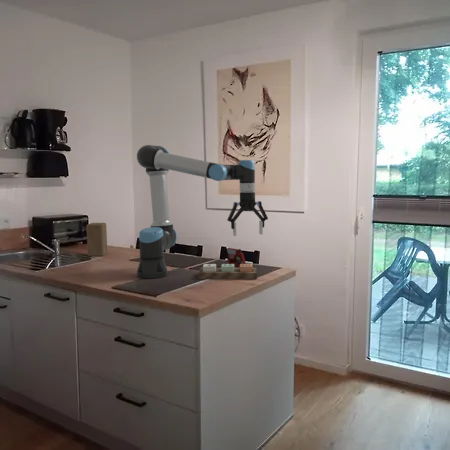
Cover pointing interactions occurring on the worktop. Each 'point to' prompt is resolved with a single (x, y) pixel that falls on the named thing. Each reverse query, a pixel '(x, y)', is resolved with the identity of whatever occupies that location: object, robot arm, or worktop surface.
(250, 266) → the tile
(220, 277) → the board
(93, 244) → the wooden block
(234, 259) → the toy fire truck
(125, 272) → the worktop surface
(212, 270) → the tile
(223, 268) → the tile
